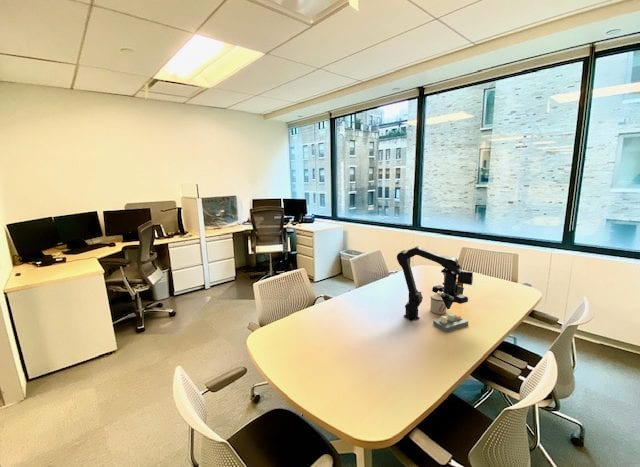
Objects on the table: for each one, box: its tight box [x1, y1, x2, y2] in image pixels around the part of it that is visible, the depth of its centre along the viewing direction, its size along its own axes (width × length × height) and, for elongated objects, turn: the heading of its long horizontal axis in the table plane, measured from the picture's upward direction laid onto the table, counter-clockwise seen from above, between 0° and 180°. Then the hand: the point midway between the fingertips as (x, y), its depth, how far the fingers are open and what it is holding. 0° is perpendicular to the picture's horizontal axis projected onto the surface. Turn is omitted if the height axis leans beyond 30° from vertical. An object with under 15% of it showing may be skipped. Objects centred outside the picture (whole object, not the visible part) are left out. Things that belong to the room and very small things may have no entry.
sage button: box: [447, 313, 455, 323], centre depth 160 cm, size 3×3×4 cm
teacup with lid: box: [430, 291, 447, 315], centre depth 177 cm, size 12×9×12 cm
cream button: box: [440, 315, 447, 325], centre depth 158 cm, size 3×3×4 cm
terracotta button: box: [454, 314, 462, 321], centre depth 162 cm, size 3×3×4 cm
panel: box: [432, 314, 469, 333], centre depth 160 cm, size 16×9×2 cm, turn 113°
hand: (448, 308), depth 158 cm, fingers closed
